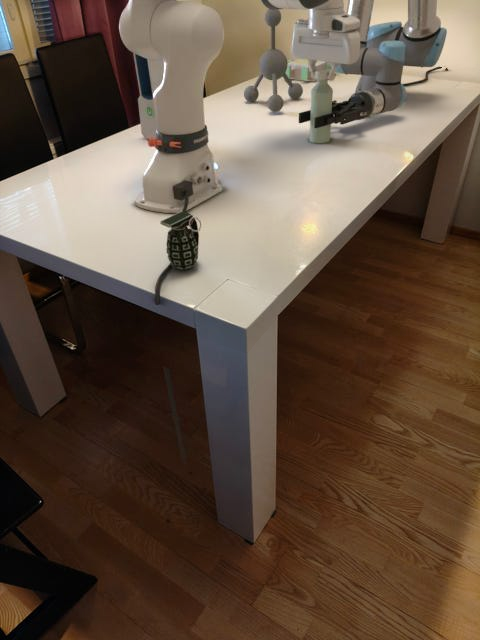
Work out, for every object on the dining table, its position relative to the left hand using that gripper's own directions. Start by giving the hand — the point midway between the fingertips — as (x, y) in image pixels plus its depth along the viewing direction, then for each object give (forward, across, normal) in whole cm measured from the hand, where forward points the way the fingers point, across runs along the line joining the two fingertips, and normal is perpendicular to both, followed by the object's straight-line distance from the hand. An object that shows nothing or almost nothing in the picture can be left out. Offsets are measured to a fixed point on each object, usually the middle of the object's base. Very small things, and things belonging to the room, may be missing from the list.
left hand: (322, 78), depth 134 cm
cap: (-2, 0, 0) cm, 2 cm away
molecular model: (+17, -36, +24) cm, 47 cm away
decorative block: (+17, -54, +66) cm, 87 cm away
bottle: (+17, 0, 0) cm, 17 cm away
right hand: (+10, -1, -5) cm, 11 cm away
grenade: (+17, +23, -73) cm, 78 cm away
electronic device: (+17, -40, -27) cm, 51 cm away
